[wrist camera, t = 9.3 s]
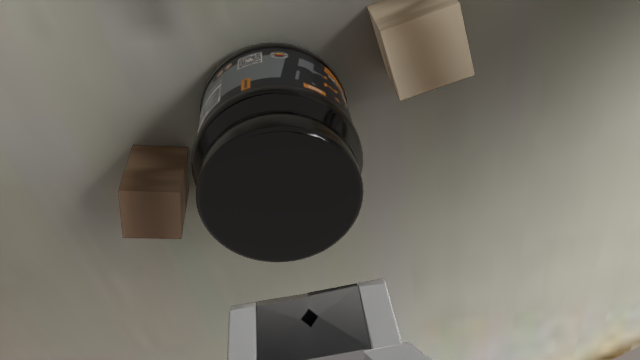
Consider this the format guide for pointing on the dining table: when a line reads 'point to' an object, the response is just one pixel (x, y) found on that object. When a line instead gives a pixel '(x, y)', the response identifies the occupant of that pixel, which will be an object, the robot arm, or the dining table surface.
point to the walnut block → (154, 192)
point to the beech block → (421, 43)
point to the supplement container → (276, 155)
